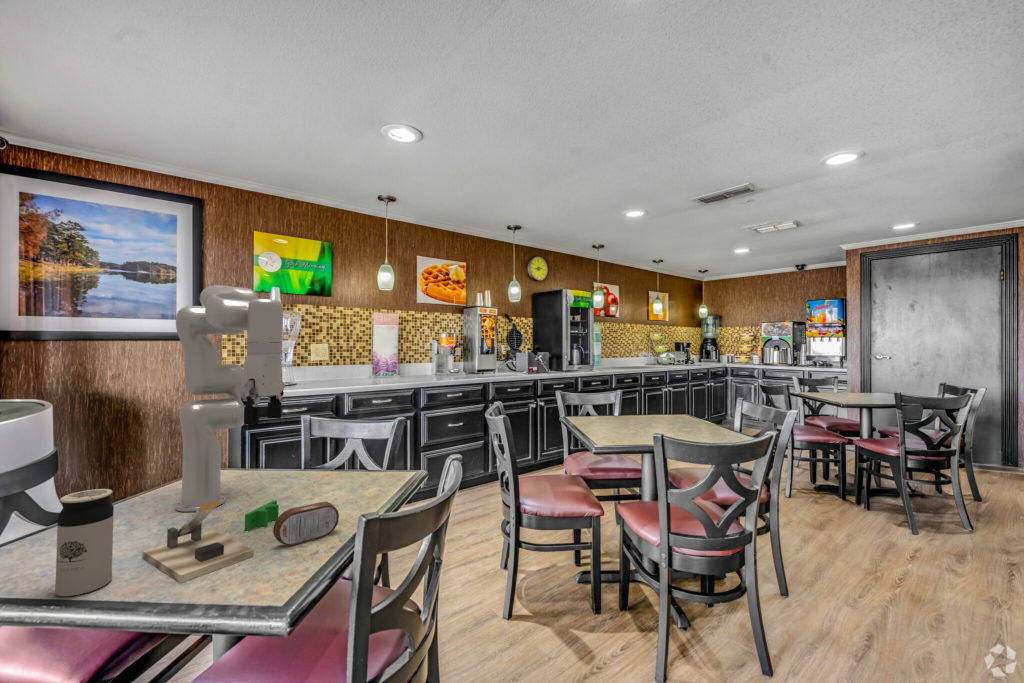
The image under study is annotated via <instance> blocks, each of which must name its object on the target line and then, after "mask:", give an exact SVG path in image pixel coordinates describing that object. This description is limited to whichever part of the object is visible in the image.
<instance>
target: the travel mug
mask: <svg viewBox="0 0 1024 683" xmlns="http://www.w3.org/2000/svg"><path fill="white" fill-rule="evenodd" d="M112 494H113V490H112V489H109V488H96V489H88V490H82V491H77V492H72V493H69V494H67V495H63V496H62V497H61V498H60V499H59V501H60V503H61V504H62V509H61V511H59V513H58V515H57V532H56V557H55V559H56V561H55V564H56V566H55V589H54V590H55V592H54V593H55V595H57V596H59V597H75V596H74V595H76V596H80V594H82V595H84V594H83V593H85V594H88V593H91V592H90V591H92V592H94V591H96V590H98V588H99V589H100V588H103V587H104V586H106V585H107V584H108V583H110V582H111V581H112V578H113V577H112V576H113V575H112V574H113V573H112V572H113V548H114V547H113V544H114V541H113V540H114V539H113V538H114V512H115V511H114V508H115V507H114V505H113V504H112V502H111V500H110V499H111V495H112ZM102 586H103V587H102ZM93 590H94V591H93ZM87 592H88V593H87Z"/></svg>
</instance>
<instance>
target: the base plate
mask: <svg viewBox="0 0 1024 683" xmlns="http://www.w3.org/2000/svg"><path fill="white" fill-rule="evenodd" d="M202 524H203V522H201V523H200V524H199V525H198V526H197V527H196V529H195V530H194V531H193V533H191V534H190V536H188V537H185V538H182V539H179V537H178V531H179V529H178V528H176V527H174V526H172V527H169V528H167V529H166V536H167V537H166V543H165V544H161V545H157V546H154V547H152V548H148V549H145V550H144V549H143V550H142V551H141V552H142V553H141V557H142V559H144V560H145V561H147V562H148V563H150V565H152V566H154V567H155V568H157V569H158V570H160V571H162V572H163V573H165V574H166V575H168V576H169V577H171V578H172V579H174V580H175V581H177V582H179V583H180V584H181V583H186V582H188V581H191V580H192V579H193V580H194V579H196V578H199V577H201V576H203V575H207V574H209V573H211V572H215V571H217V570H221V569H223V568H225V567H228V566H231V565H234V564H236V563H239V562H242V561H244V560H246V559H250V558H252V557H254V549H253V548H251V547H248V546H247V545H244V544H242V543H240V542H238V541H236V540H233V539H232V538H229V537H227V536H225V535H223V534H220V533H218V532H216V531H214V530H211V529H210V530H209V531H205V532H202Z"/></svg>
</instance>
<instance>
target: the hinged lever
mask: <svg viewBox="0 0 1024 683" xmlns="http://www.w3.org/2000/svg"><path fill="white" fill-rule="evenodd" d="M218 504H219V502H218V501H214V502H210V503H206V504H203V505H202V506H201V507H200V508H199V509H198V510H197V511H194V513H193V514H192V516H190V517H189V519H188V520H187V521H186V522H185V523H184V524H183V525H182V526H181V527H180V528H179V529H178V538H181V537H183V536H187V535H191V533H193V531H194V530H195V529H196V527H197V526H198V525H199V524H200V523H203V521H204V520H205V519H206V518H208V516H209V515H210V514H211V513H212V512H213V511H214V510H215V508H217V507H218V506H217V505H218ZM216 506H217V507H216Z"/></svg>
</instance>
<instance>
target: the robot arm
mask: <svg viewBox="0 0 1024 683" xmlns="http://www.w3.org/2000/svg"><path fill="white" fill-rule="evenodd" d="M199 303H200V304H201V305H189V306H184V307H181V308H180V309H179V310H178V311H177V313H176V317H175V328H176V333H177V336H178V339H179V340H180V344H181V346H182V349H183V354H184V357H183V359H184V360H183V362H184V383H185V384H184V386H185V388H186V389H185V390H186V392H187V393H188V394H189V395H191V396H213V395H214V396H215V395H226V396H227V397H226V398H225V397H224V398H210V399H209V398H208V399H198V400H197V399H196V400H193V401H189V402H187V403H185V404H183V405H182V407H181V408H180V410H179V420H180V426H181V433H182V434H181V436H182V472H181V473H182V474H181V475H182V476H181V480H182V481H181V500H180V501H178V502H177V503H175V505H174V510H176V511H178V512H182V513H183V512H184V513H185V512H190V513H191V512H196V511H197V510H198V509H199V508H200V507H201V506H202V505H203V504H206V503H210V502H214V501H218V502H219V504H218V505H217V506H216V508H218V507H219V505H220V506H222V505H223V504H225V503H226V501H227V497H226V496H225V495H223V494H221V472H222V470H221V467H222V465H221V464H222V445H221V442H220V440H219V439H218V437H216V436H215V435H214V434H213V433H212V432H214V431H218V430H219V431H220V430H228V429H237V428H241V427H243V426H245V425H258V424H259V423H260V406H258V405H259V403H260V401H261V399H264V398H267V399H268V400H269V402H267V418H268V419H281V418H282V403H283V400H284V399H283V395H284V390H285V386H286V384H285V383H284V382H283V366H282V356H283V314H284V312H283V311H284V308H283V307H284V306H283V303H281V301H280V300H276V299H270V298H269V299H267V298H259V296H258V294H257V293H256V292H255V291H254V290H253V289H251V288H248V287H240V286H231V285H222V284H221V285H220V284H215V285H210V286H207V287H205V288H204V289H203V290H202V291H201V293H200V295H199ZM245 331H246V356H245V359H244V363H243V367H242V366H240V365H238V364H233V363H226V364H225V363H223V364H221V363H220V362H219V357H218V356H219V355H218V354H219V352H218V348H217V346H216V345H215V343H214V342H213V341H212V340H211V339H210V338H209V337H207V335H220V336H221V335H222V336H236V335H240V334H242V333H243V332H245ZM221 504H222V505H221Z"/></svg>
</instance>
